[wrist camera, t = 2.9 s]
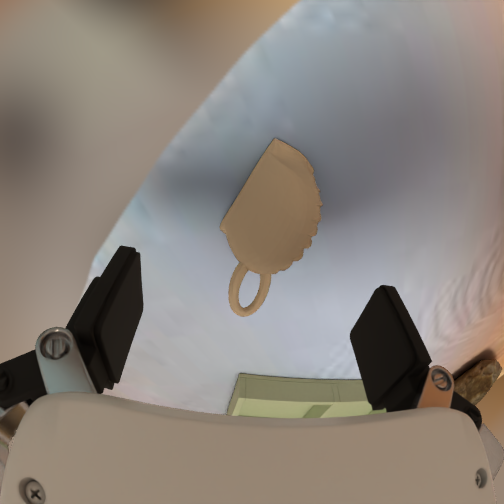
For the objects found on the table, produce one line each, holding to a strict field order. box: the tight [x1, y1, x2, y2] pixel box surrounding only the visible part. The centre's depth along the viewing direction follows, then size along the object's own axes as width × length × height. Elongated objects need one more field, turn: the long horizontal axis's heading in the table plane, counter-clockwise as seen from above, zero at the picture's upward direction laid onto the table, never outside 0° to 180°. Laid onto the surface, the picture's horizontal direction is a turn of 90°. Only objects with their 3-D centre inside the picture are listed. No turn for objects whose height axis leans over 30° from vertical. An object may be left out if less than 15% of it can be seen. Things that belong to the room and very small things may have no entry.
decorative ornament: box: [220, 138, 323, 317], centre depth 15 cm, size 4×8×5 cm, turn 148°
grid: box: [226, 373, 386, 418], centre depth 33 cm, size 21×21×3 cm
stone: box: [454, 360, 502, 405], centre depth 30 cm, size 13×8×8 cm
